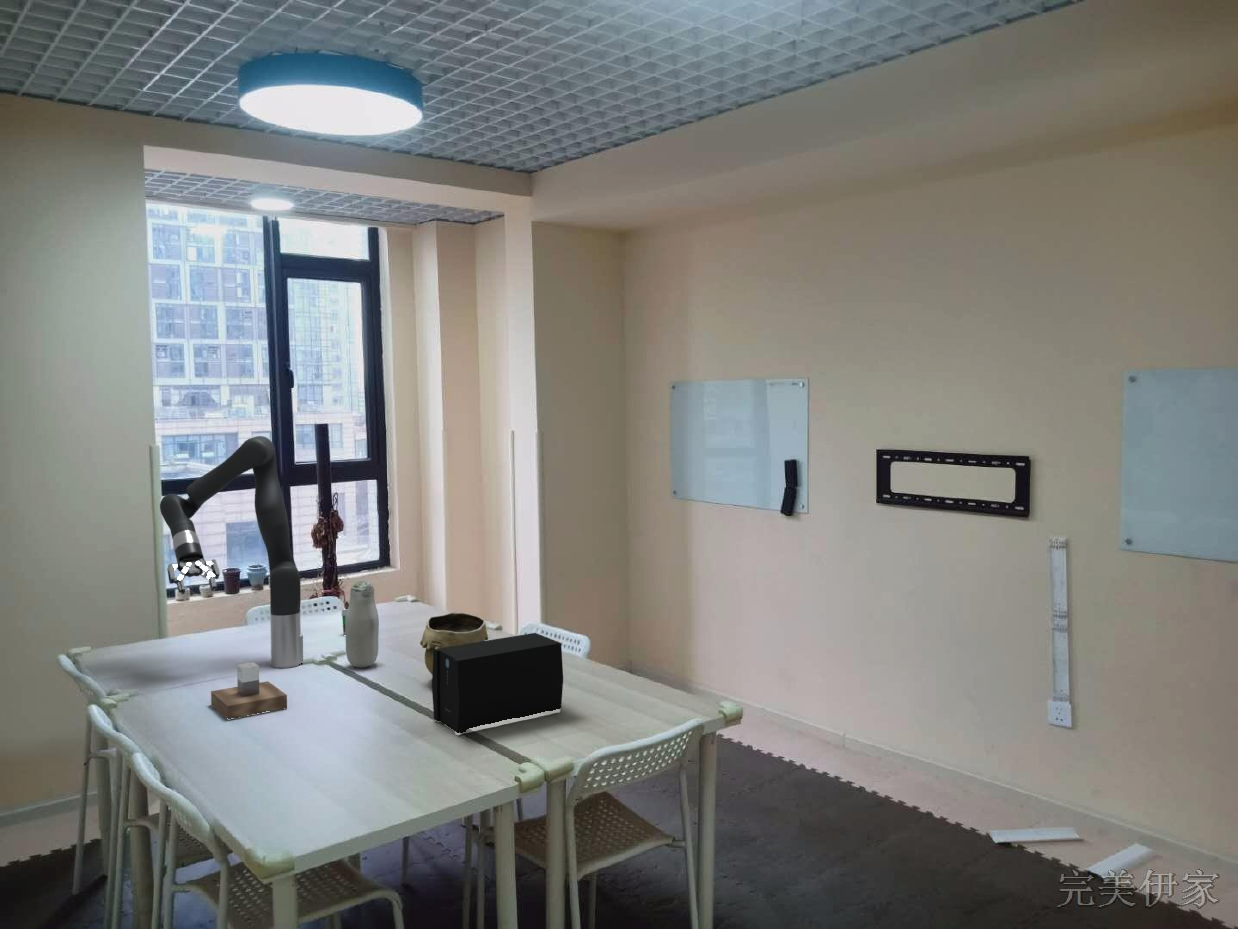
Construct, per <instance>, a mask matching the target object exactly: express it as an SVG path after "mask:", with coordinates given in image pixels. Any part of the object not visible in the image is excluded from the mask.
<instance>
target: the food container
mask: <svg viewBox="0 0 1238 929" xmlns="http://www.w3.org/2000/svg"><path fill="white" fill-rule="evenodd" d="M347 610H348V609H342V610H341V618H342V619H341V620H342V629H343V631H342V633H343V636H344V635H346V633H345V619H346V613H347Z"/></svg>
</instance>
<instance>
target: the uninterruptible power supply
mask: <svg viewBox="0 0 1238 929" xmlns="http://www.w3.org/2000/svg"><path fill="white" fill-rule="evenodd" d="M562 652H563V651H562V642H560V641H557V640H555V639H552V638H550V637H547V636H545V635H542V634H540V633H538V632H532V633H526V634H520V635H519V634H518V635H513V636H508V637H507V636H506V637H499V638H494V639H490V640H489V639H488V640H485V641H481V642H475V643H469V644H463V645H456V646H450V647H444V648H438V649H434V652H433V673H432V674H431V676H432V677H431V689H432V690H431V691H432V693H431V694H432V706H433V707H432V709H433V711H432V712H433V720H434V719H435V720H437V721H441V722H442V723H443V724H446V725H447V726H448V727H450V728H451V729H453V730H454V731H456V732H457V733H459V732H460V733H463V732H466V730H467V729H469V728H473V727H477V726H480V725H485V724H491V723H495V722H499V721H502V720H507V719H512V718H520V717H525V716H529V715H533V714H537V713H541V712H545V711H553V710H556V709H560V708H561V709H562V704H563V703H562V701H563V688H564V668H563V667H564V666H563V653H562ZM443 724H442V725H443Z"/></svg>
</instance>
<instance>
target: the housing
mask: <svg viewBox="0 0 1238 929" xmlns="http://www.w3.org/2000/svg"><path fill="white" fill-rule="evenodd" d="M236 668H237V669H236V673H237V675H236V676H237V677H236V678H237V681H236V682H237V684H236V685H237V687H238V693H239V694H240V695H241V696H242V697H244V696H249V695H255V694H259V683H260V666H259V664H257V663H256V662H253V661H252V662H247V663H246V662H245V663H239V664H236Z"/></svg>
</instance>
